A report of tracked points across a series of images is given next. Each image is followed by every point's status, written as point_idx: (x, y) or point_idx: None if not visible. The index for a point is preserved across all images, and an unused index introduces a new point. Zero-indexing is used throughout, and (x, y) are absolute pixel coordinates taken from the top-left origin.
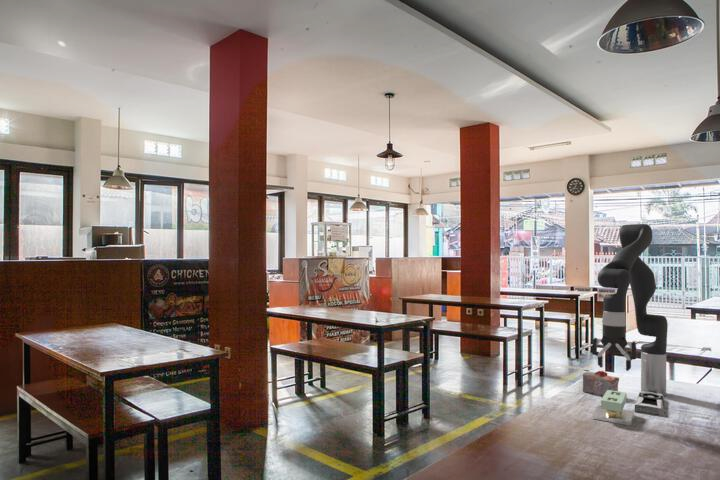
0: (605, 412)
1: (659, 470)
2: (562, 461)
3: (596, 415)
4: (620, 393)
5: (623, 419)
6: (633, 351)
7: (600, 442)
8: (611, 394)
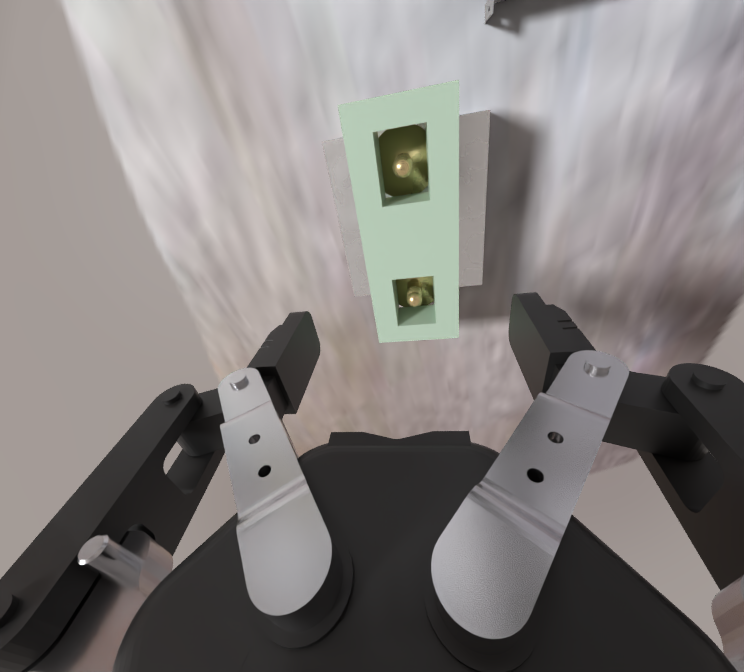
0: None
1: None
2: None
3: (366, 294)
4: (424, 121)
5: None
6: (721, 543)
7: (425, 431)
8: (389, 214)
